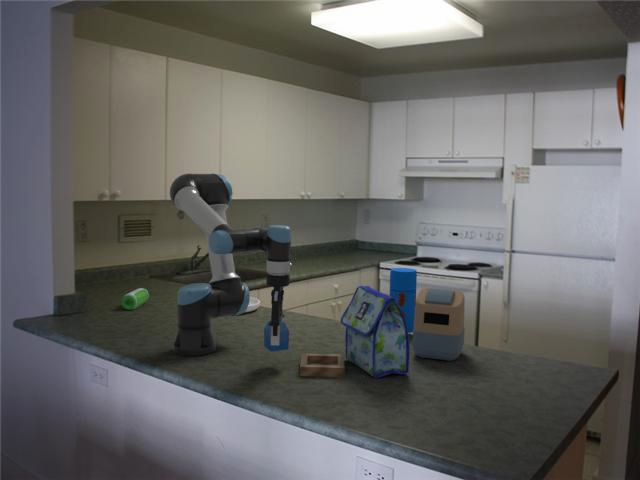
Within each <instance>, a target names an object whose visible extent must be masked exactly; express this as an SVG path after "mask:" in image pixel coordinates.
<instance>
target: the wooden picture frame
mask: <svg viewBox="0 0 640 480" xmlns="http://www.w3.org/2000/svg"><path fill="white" fill-rule="evenodd" d="M344 356H345V355H344V354H338V353H337V354H336V353H301V359H300V366H299V376H300V377H322V378H323V377H324V378H325V377H329V378H333V377H335V378H345V371H346V370H345V357H344Z"/></svg>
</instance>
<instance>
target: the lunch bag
mask: <svg viewBox="0 0 640 480" xmlns="http://www.w3.org/2000/svg"><path fill="white" fill-rule="evenodd" d="M340 324H341V325H342V326H344V327H345V351H344V352H345V359H346V361H348V362H350V363H353V364H354V365H356V366H358V367H359V368H360V369H362V370H364V371H365V372H366V373H367V374H369V375H370V376H372V377H373V379H374V378H375V379H379V378H381V377H384V376H387V375H389V374H390V375H391V374H392V373H393V374H398V375H406V374H409V372H410V368H409V367H410V353H411V352H410V339H409V333H408V329H407V324H406V320H405V318H404V315H403V313H402V311H401V309H400V307H399V306H398V304H397V302H396V300H395V299H394V298H393V297H391V296H389V294H387V293H383V292H380V291H379V290H377V289H375V288H372V287H371V286H369V285H365V286H364V285H359V286H357V287H356V289H355V292H354V294H353V296H352V298H351V300H350V302H349V303H348V306H347V308H346V309H345V310H344V312H343V314H342V315H341V317H340Z"/></svg>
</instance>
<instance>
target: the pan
mask: <svg viewBox="0 0 640 480" xmlns="http://www.w3.org/2000/svg"><path fill="white" fill-rule="evenodd" d="M260 305H261V301H260V300H259V299H258V298H256V297H252V296H250V301H249V305H248V307H247V309H246V311H245V312H244V313H243V314H247V313H252V312H253V311H255V310H257V309H258V308H260Z"/></svg>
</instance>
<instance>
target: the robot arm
mask: <svg viewBox="0 0 640 480" xmlns="http://www.w3.org/2000/svg"><path fill="white" fill-rule="evenodd" d="M232 196H233V188H232V184H231V182H230V180H229V179H228V178H227V177H226V176H225V175H223V174H219V173H218V174H217V173H184V174H182V175H181V174H180V175H179V176H178V177H176V178H175V179H174V180H173V182H172V183H171V185H170V188H169V198H170V200H171V202H172V204H173V205H174V206H175V208H176V209H178V210H179V211H182V212H184V213H185V214H186V215H187V216H188V217H189V218H190V219H191V220H192V221H193V223H194V224H195V225H197V227H198V228H199V229H200V230H201V231H202V232H203V233H204V234H205V239H206V246H207V252H208V257H209V264H210V270H211V275H212V278H211V279H210V281H208V282H209V283H207V282H198V283H197V282H196V283H190V284H186V285H184V286H182V287H181V288H179V290H178V291H177V299H176V304H177V305H176V306H177V310H176V311H177V314H176V315H177V331H176V332H175V337H174V340H173V343H172V353H174V354H176V355H178V356H179V355H180V356H183V357H184V356H188V357H192V356H193V357H195V356H196V357H198V356H205V355H210V354H211V353H214V352H215V351H216V349H217V343H216V339H215V337H214V333H213V330H212V320H214V319H219V318H226V317H235V316H237V315H242V314H245V313H244V312H245V311H246V309H247V307H248V305H249V301H250V297H251V295H250V294H251V293H250V289H249V286H248V285H247V283H244V282H242V279H241V276H239V275H238V274H237V273H236V268H235V267H236V266H235V263H234V256H233V254H238V253H239V254H240V253H254V252H264V253H266V272H267V273H266V277H265V278H266V279H265V280H266V282H265V283H266V285H267V286H268V287H272V288H273V289H271V291H270V296H271V299H270V304H271V315H270V317H271V319H270V321H271V324H269V326H271V345H279V337H280V324H279V321H280V312H282V314H281V315H282V318H285V314H284V313H283V307H284V306H283V302H284V295H285V289H284V288H285V287H288V286H290V277H291V276H290V275H291V274H289V273H290V271H291V267H292V266H293V264H292V263H291V248H292V247H291V245H292V232H291V231H292V229H291V227H289V226H288V225H283V224H281V225H280V224H279V225H278V224H275V225H274V224H273V225H268V228H264V227H263V228H262V227H261V226H260V227H259V226H258V227H255V226H254V227H251V228H245V229H233V228H232V226H230V225H229V224H228V220H227V215H226V211H227V210H228V208H229V204H230V203H231V202H232V199H233V197H232ZM273 321H276V322H273ZM281 321H282V322H283V319H282V320H281Z"/></svg>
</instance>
